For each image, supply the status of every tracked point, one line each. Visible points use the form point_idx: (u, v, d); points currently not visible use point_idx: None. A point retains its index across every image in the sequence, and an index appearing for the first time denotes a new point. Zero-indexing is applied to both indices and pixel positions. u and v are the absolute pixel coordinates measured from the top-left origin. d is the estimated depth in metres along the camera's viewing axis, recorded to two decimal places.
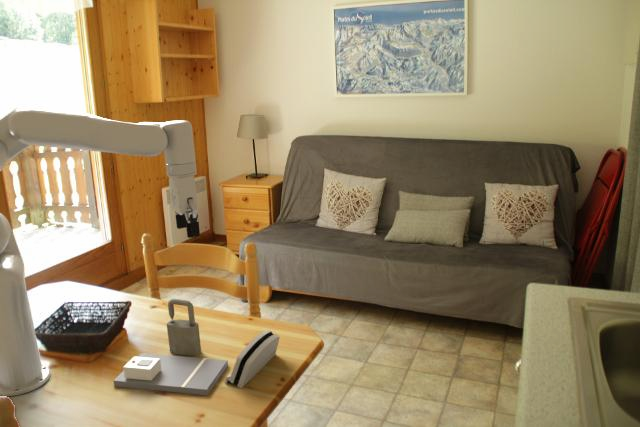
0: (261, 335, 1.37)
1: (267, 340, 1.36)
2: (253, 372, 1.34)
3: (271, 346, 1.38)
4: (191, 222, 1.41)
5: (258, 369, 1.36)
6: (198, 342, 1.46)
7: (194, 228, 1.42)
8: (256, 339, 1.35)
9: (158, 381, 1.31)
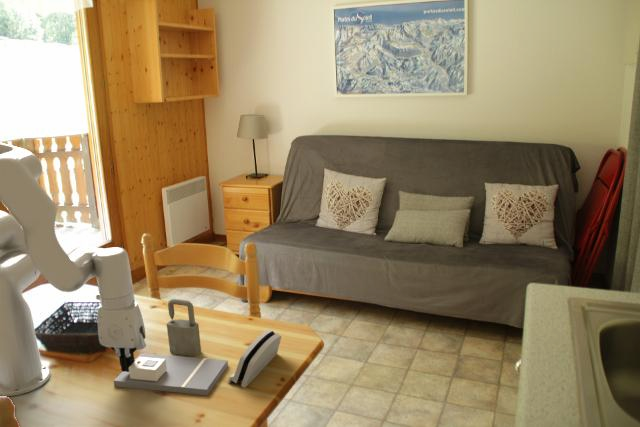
0: (263, 335, 1.37)
1: (269, 339, 1.36)
2: (256, 372, 1.34)
3: (273, 345, 1.38)
4: (131, 354, 1.33)
5: (261, 368, 1.36)
6: (198, 342, 1.46)
7: (132, 359, 1.34)
8: (259, 339, 1.35)
9: (158, 381, 1.31)
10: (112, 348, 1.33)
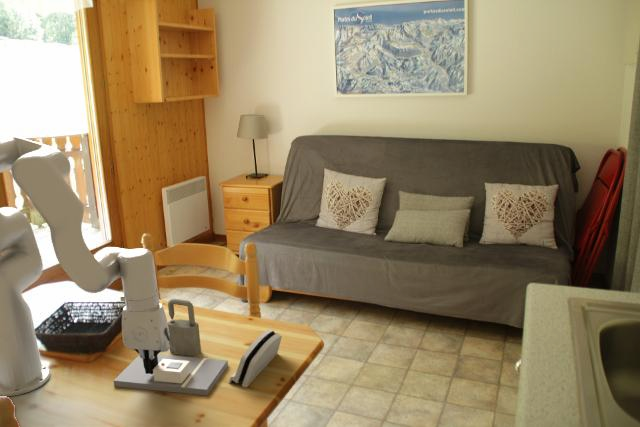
0: (264, 334, 1.37)
1: (270, 339, 1.36)
2: (257, 372, 1.34)
3: (274, 345, 1.38)
4: (155, 357, 1.32)
5: (261, 368, 1.36)
6: (198, 342, 1.46)
7: (156, 362, 1.33)
8: (259, 338, 1.35)
9: (158, 381, 1.31)
10: (136, 350, 1.32)
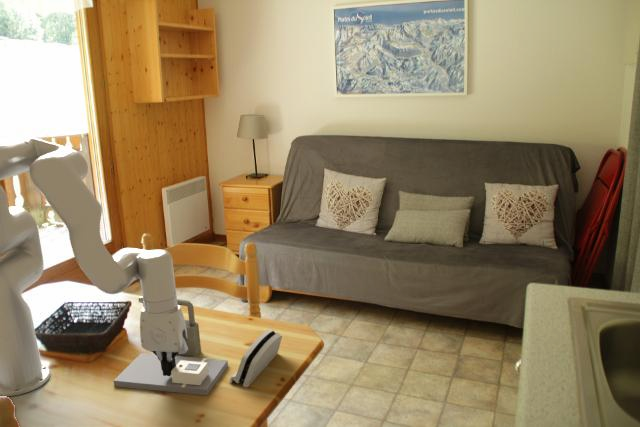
0: (264, 334, 1.37)
1: (271, 339, 1.36)
2: (258, 372, 1.34)
3: (274, 345, 1.38)
4: (172, 358, 1.31)
5: (262, 368, 1.36)
6: (198, 342, 1.46)
7: (174, 364, 1.32)
8: (260, 338, 1.35)
9: (158, 381, 1.31)
10: (154, 352, 1.31)
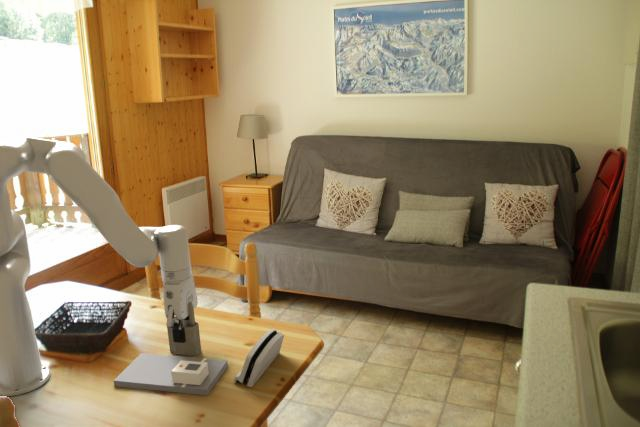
0: (267, 334, 1.37)
1: (274, 338, 1.36)
2: (261, 371, 1.34)
3: (277, 344, 1.39)
4: None
5: (265, 368, 1.37)
6: (198, 342, 1.46)
7: None
8: (263, 338, 1.35)
9: (158, 381, 1.31)
10: (177, 325, 1.40)
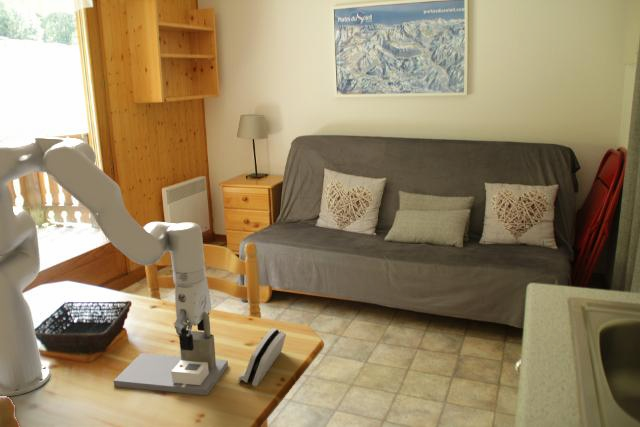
0: (270, 333, 1.38)
1: (277, 337, 1.37)
2: (265, 370, 1.34)
3: (280, 343, 1.39)
4: None
5: (268, 367, 1.37)
6: (213, 355, 1.36)
7: None
8: (266, 337, 1.35)
9: (158, 381, 1.31)
10: (184, 331, 1.27)
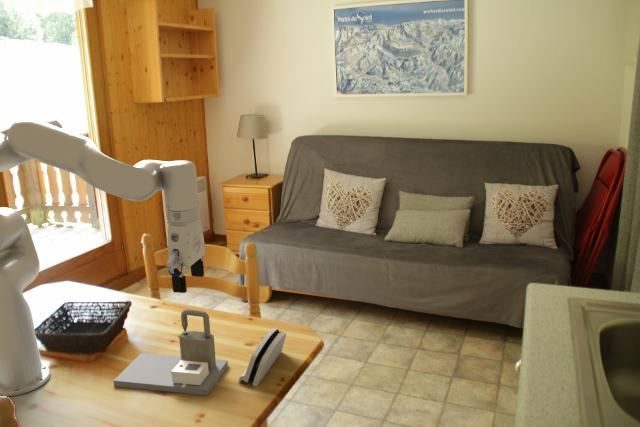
0: (270, 333, 1.38)
1: (277, 337, 1.37)
2: (266, 370, 1.34)
3: (280, 343, 1.39)
4: None
5: (269, 367, 1.37)
6: (213, 355, 1.36)
7: None
8: (267, 337, 1.35)
9: (158, 381, 1.31)
10: (177, 271, 1.23)
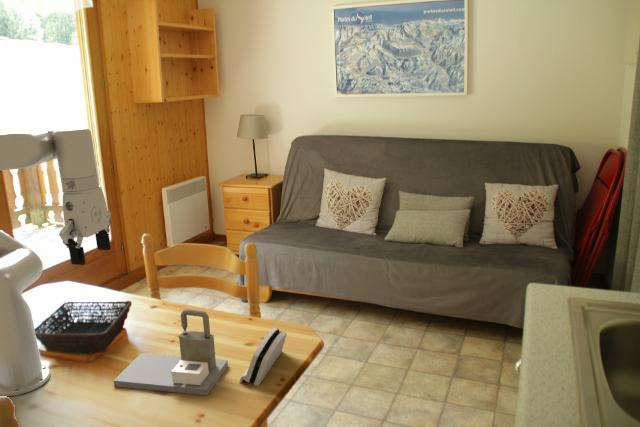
0: (271, 332, 1.38)
1: (278, 337, 1.37)
2: (267, 370, 1.34)
3: (281, 343, 1.39)
4: None
5: (270, 366, 1.37)
6: (213, 355, 1.36)
7: None
8: (268, 337, 1.36)
9: (158, 381, 1.31)
10: (72, 242, 1.18)
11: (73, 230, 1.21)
